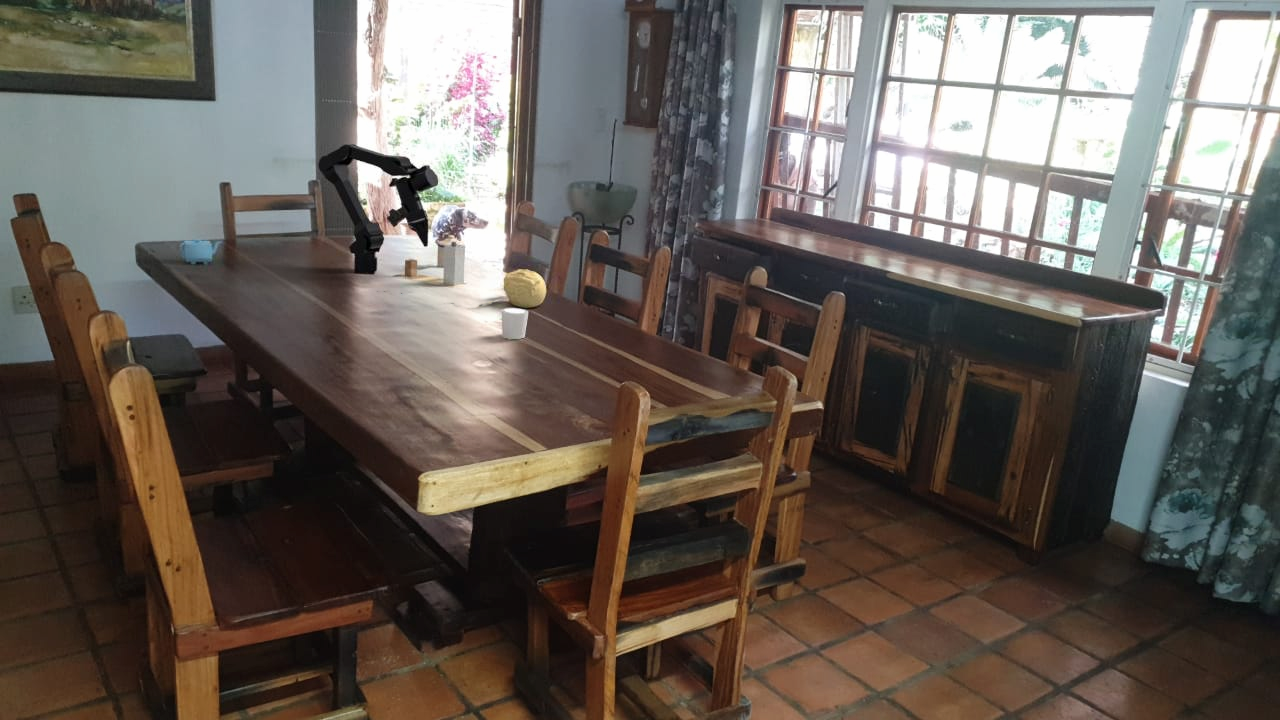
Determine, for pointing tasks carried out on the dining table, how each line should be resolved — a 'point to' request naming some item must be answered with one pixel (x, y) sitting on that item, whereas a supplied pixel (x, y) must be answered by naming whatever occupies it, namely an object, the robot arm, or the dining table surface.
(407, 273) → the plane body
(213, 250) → the teapot
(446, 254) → the tall grey block
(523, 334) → the shot glass
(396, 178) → the robot arm
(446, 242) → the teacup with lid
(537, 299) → the yellow lumpy ball
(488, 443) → the dining table surface
